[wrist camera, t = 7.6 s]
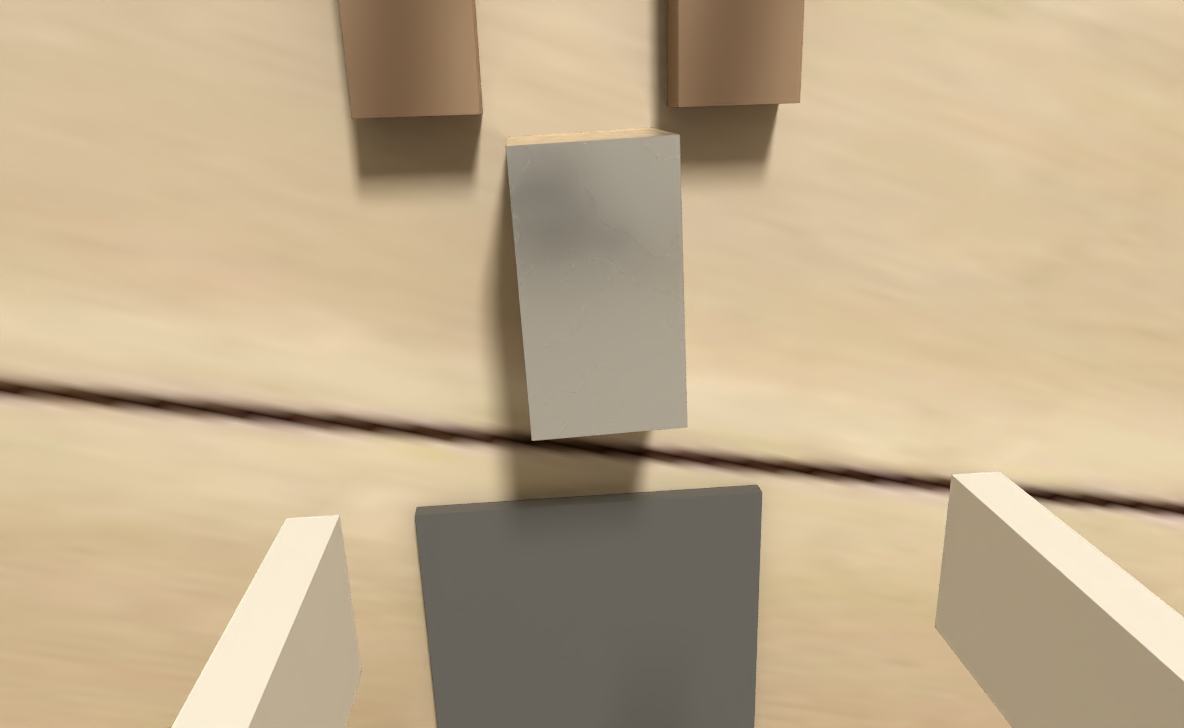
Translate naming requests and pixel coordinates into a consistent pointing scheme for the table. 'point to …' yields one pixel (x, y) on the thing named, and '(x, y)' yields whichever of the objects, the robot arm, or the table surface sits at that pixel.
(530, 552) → the rubber mat
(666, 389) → the aluminium block
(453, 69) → the slot board
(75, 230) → the table surface
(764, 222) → the table surface
